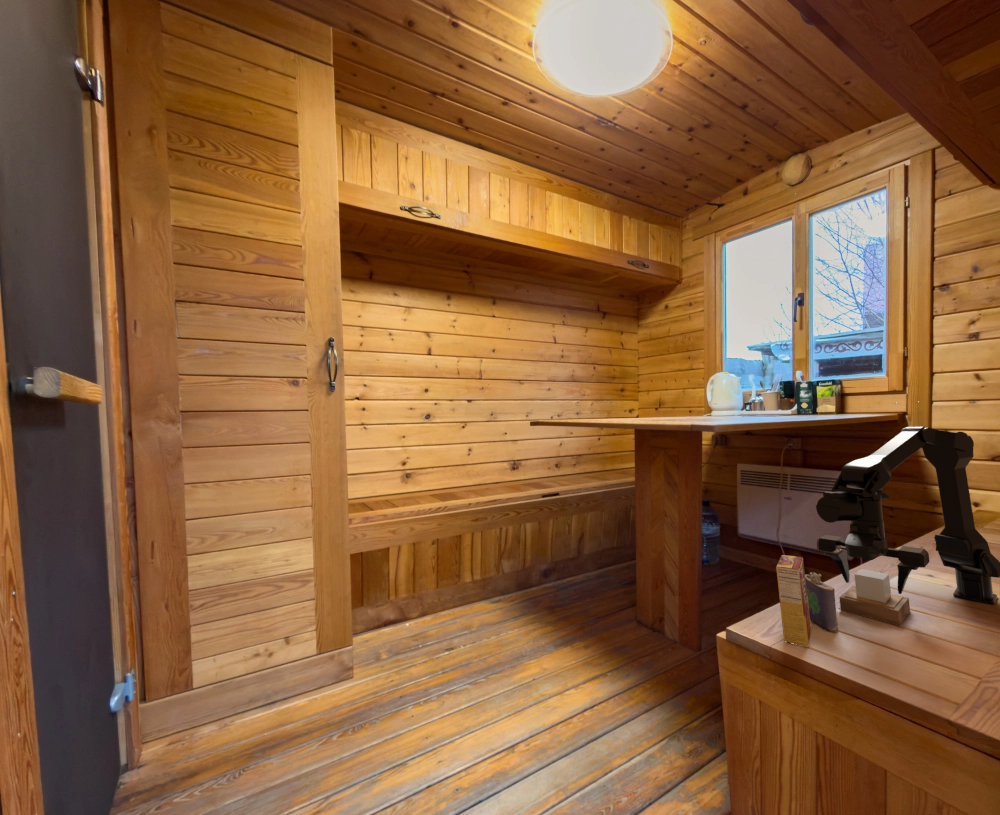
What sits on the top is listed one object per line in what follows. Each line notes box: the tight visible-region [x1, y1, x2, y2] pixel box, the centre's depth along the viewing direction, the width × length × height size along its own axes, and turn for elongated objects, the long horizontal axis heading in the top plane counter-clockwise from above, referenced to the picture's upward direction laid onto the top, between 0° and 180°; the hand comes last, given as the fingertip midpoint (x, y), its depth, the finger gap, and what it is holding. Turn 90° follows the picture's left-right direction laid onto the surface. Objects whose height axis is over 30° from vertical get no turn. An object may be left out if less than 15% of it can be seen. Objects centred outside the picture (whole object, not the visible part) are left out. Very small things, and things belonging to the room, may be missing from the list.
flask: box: [805, 572, 839, 634], centre depth 92 cm, size 9×3×11 cm, turn 172°
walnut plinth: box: [839, 585, 911, 626], centre depth 96 cm, size 10×10×3 cm
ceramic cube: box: [854, 568, 892, 603], centre depth 96 cm, size 5×5×5 cm
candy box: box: [775, 554, 812, 648], centre depth 87 cm, size 9×4×15 cm, turn 140°
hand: (872, 587), depth 96 cm, fingers open, 9 cm apart
